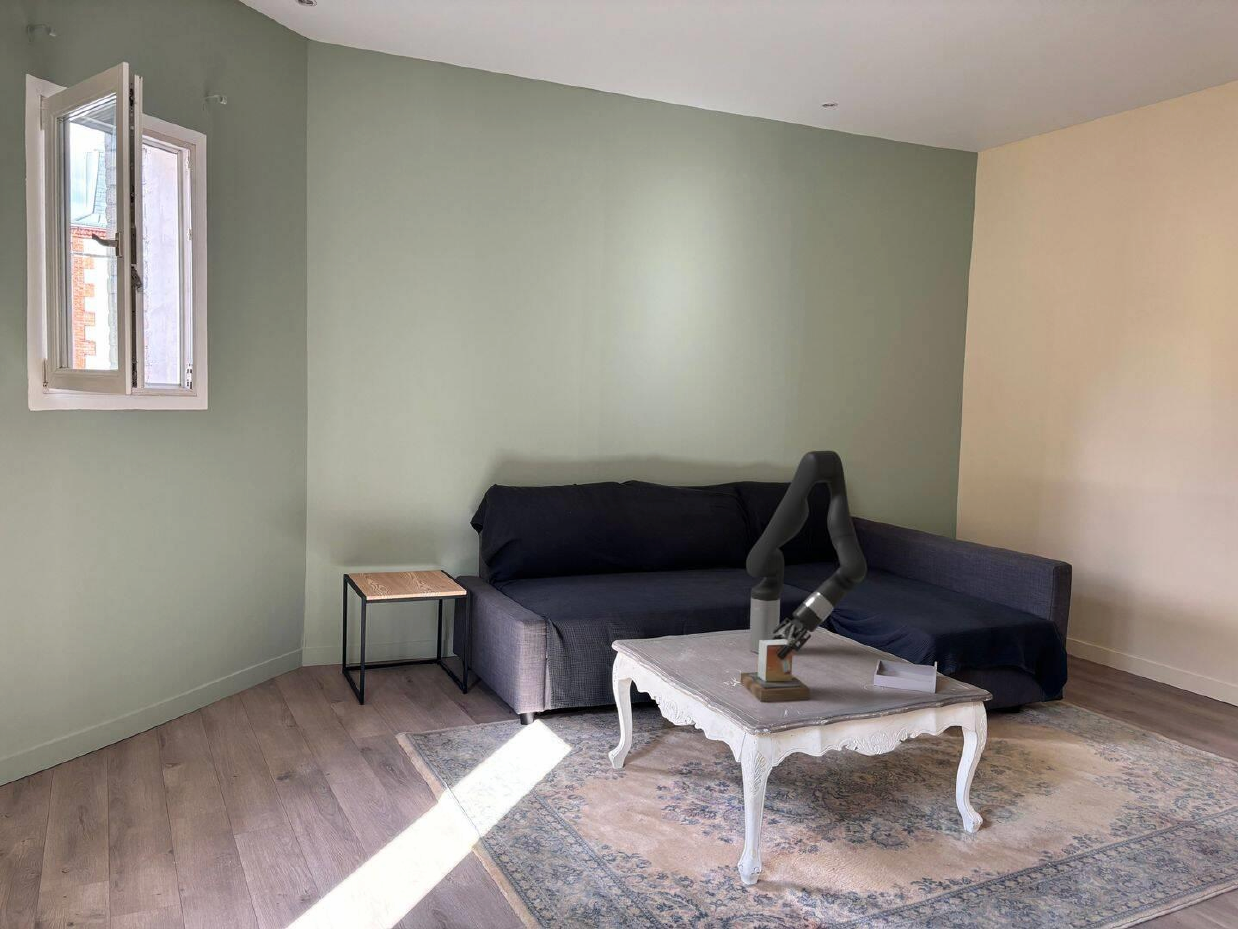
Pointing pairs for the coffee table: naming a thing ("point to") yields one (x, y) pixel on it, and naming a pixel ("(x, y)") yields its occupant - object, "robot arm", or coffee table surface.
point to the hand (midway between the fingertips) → (773, 653)
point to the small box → (774, 661)
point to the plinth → (774, 688)
